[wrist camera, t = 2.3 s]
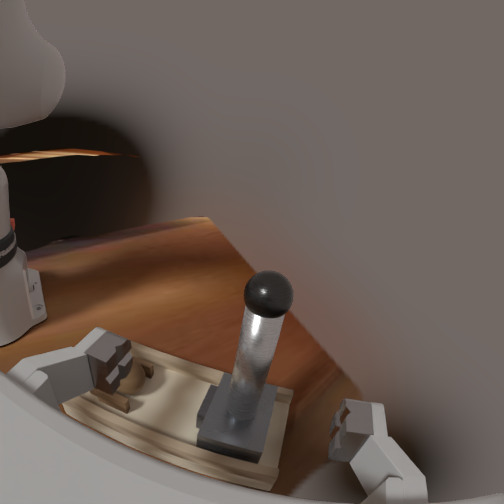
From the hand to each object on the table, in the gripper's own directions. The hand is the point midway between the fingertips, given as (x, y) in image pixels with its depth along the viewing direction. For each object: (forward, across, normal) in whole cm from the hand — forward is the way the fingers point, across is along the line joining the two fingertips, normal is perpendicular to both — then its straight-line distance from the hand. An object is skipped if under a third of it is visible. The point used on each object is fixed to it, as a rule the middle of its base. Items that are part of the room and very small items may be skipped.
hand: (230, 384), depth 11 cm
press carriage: (+12, +1, +19) cm, 23 cm away
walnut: (+12, +13, +17) cm, 25 cm away
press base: (+12, +6, +21) cm, 25 cm away
